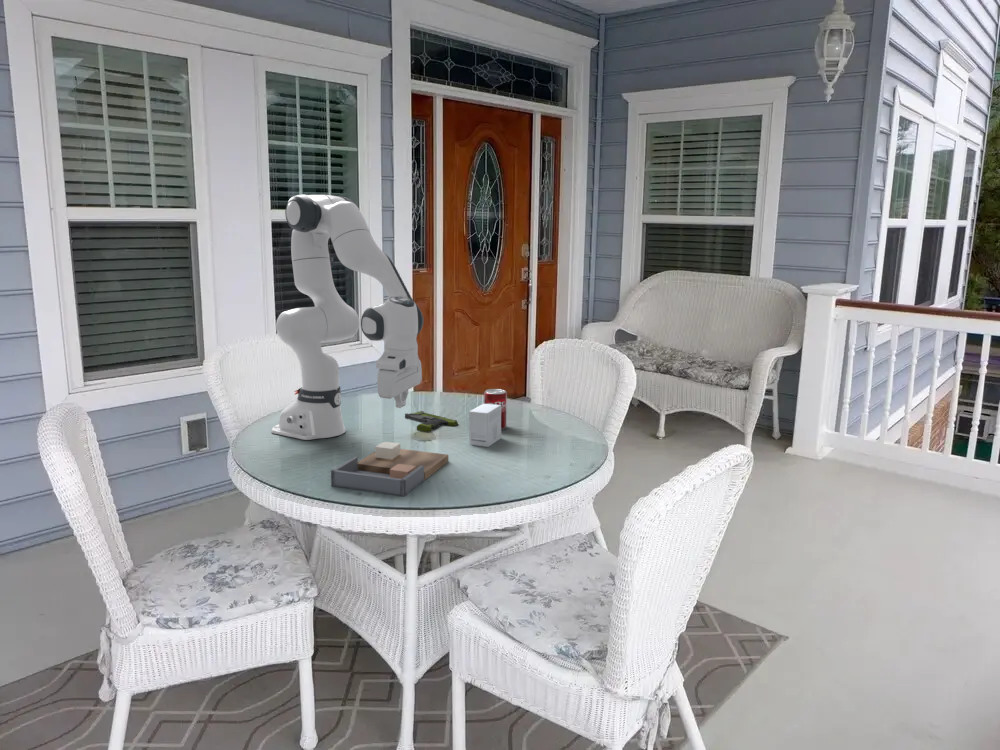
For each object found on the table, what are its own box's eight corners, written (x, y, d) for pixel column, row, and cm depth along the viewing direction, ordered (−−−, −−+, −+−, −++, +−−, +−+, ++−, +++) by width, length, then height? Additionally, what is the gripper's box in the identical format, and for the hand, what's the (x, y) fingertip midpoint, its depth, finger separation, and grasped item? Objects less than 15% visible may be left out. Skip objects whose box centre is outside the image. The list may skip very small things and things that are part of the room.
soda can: (509, 429, 247) (510, 393, 244) (488, 431, 244) (488, 394, 242) (501, 423, 253) (501, 388, 251) (480, 425, 251) (480, 389, 248)
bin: (331, 486, 194) (330, 470, 194) (354, 471, 206) (354, 456, 205) (403, 496, 188) (403, 480, 187) (424, 480, 199) (424, 465, 199)
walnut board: (355, 470, 206) (355, 463, 206) (383, 453, 221) (383, 446, 220) (424, 480, 200) (424, 472, 199) (448, 461, 215) (448, 454, 214)
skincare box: (482, 435, 240) (482, 402, 238) (501, 438, 238) (502, 405, 236) (468, 444, 231) (468, 410, 229) (488, 447, 228) (488, 412, 226)
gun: (387, 424, 253) (420, 416, 265) (427, 434, 241) (461, 426, 252) (387, 416, 253) (420, 409, 264) (427, 426, 241) (461, 418, 252)
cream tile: (375, 457, 211) (375, 446, 210) (383, 452, 215) (383, 441, 215) (392, 459, 209) (391, 448, 209) (400, 454, 214) (400, 443, 213)
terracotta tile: (389, 480, 197) (389, 469, 197) (398, 474, 202) (398, 463, 201) (407, 483, 196) (407, 472, 195) (416, 477, 200) (415, 466, 200)
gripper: (407, 349, 221) (407, 396, 224) (373, 363, 202) (372, 414, 205) (427, 351, 219) (427, 399, 222) (394, 366, 200) (394, 417, 203)
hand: (400, 406), depth 214 cm, fingers closed
